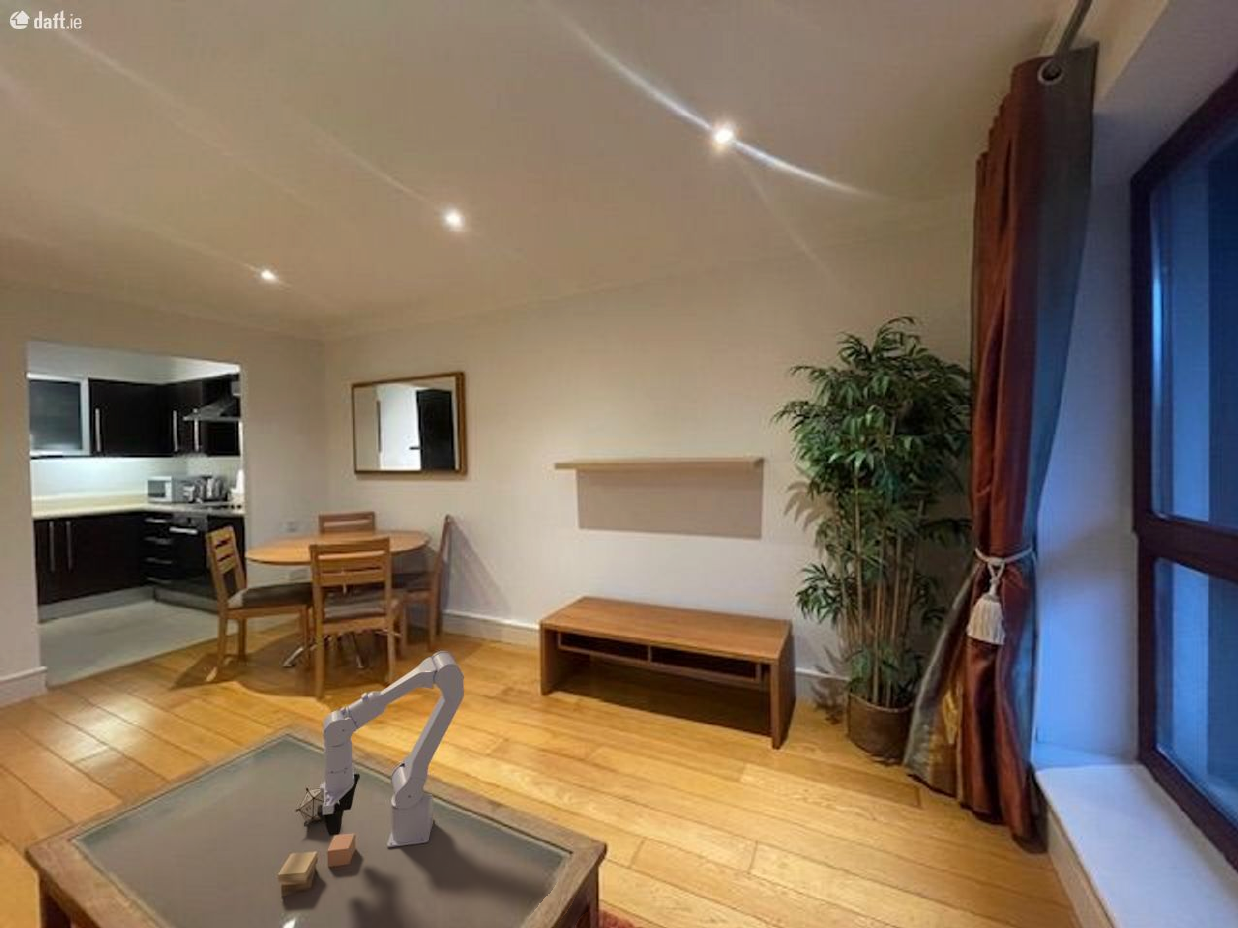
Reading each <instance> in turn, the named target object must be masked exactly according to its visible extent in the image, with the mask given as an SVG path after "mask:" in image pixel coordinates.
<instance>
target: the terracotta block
mask: <svg viewBox="0 0 1238 928" xmlns="http://www.w3.org/2000/svg"><path fill="white" fill-rule="evenodd" d="M326 851H327V852H326V854H327V868H330V867H331V868H332V867H339V866H346V865H350V863H351V860H352V858H353V855H354V853H355V851H356V833H355V832H353V833H343V834H338V835H333V838H332V840H331V842H330V845H329V846H328V848H327V850H326Z"/></svg>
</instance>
